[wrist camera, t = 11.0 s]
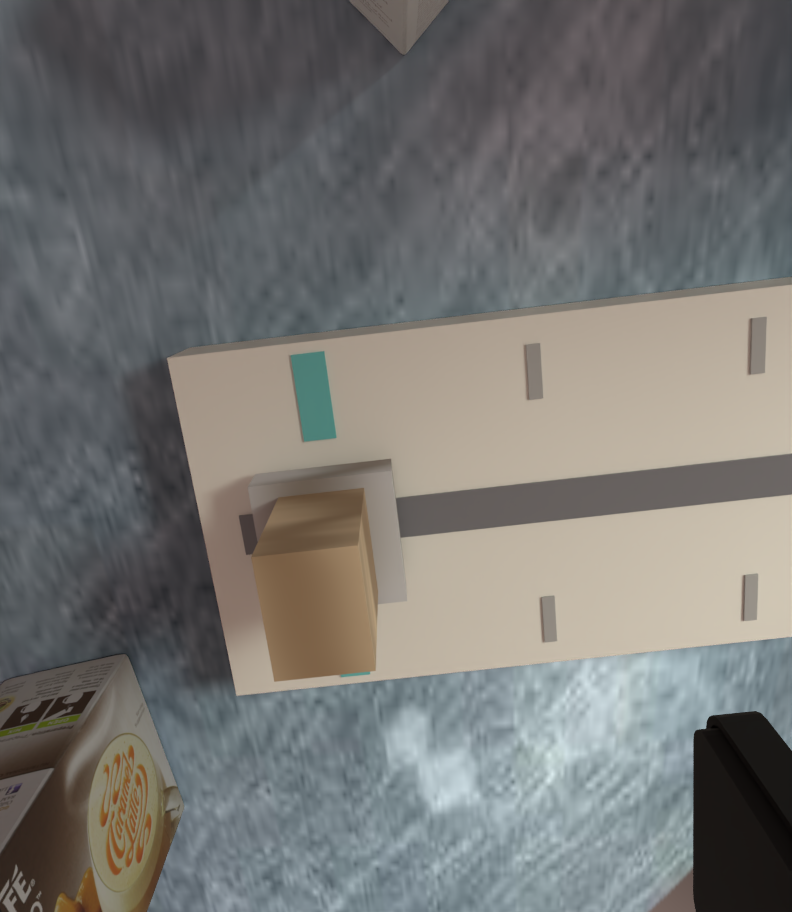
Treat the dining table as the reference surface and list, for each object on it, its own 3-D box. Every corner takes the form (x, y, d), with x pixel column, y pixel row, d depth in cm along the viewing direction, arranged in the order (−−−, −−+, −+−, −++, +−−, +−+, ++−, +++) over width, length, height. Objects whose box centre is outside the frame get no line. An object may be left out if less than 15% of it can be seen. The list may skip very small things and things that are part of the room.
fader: (391, 458, 25) (391, 524, 19) (406, 582, 27) (411, 682, 20) (255, 474, 25) (211, 544, 19) (277, 596, 27) (243, 700, 21)
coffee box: (-4, 678, 32) (-377, 1079, 16) (130, 649, 31) (-121, 1031, 16) (67, 836, 34) (-197, 1315, 19) (192, 811, 34) (27, 1277, 18)
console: (848, 270, 27) (905, 271, 24) (827, 593, 31) (874, 629, 28) (190, 347, 28) (165, 358, 25) (250, 655, 31) (236, 697, 28)
